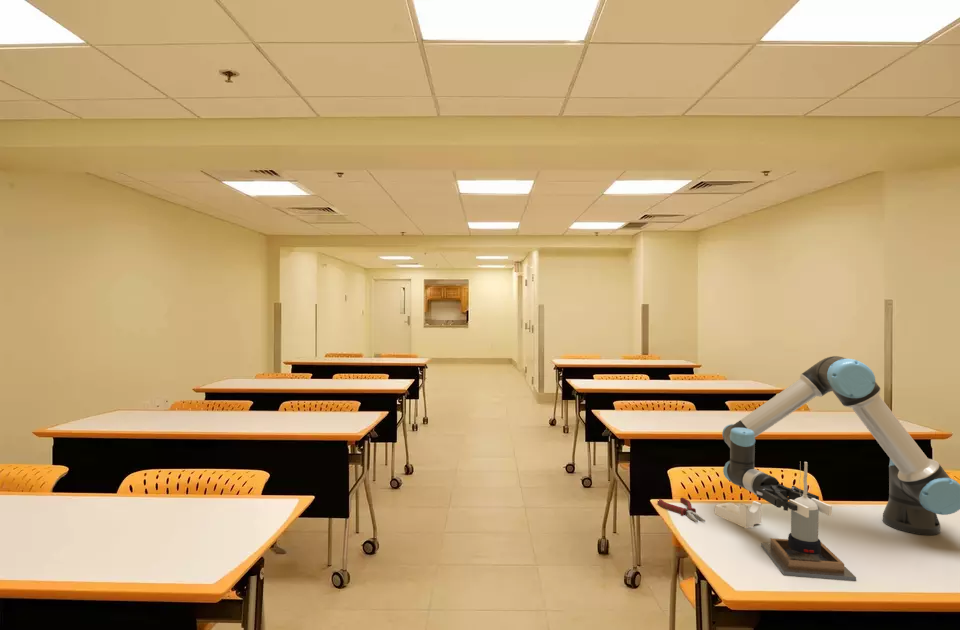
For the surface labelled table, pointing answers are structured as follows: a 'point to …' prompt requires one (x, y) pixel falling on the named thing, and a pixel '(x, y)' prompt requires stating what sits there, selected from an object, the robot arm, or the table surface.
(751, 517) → the bracket
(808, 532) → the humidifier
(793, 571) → the fitting nest
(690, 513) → the pliers
